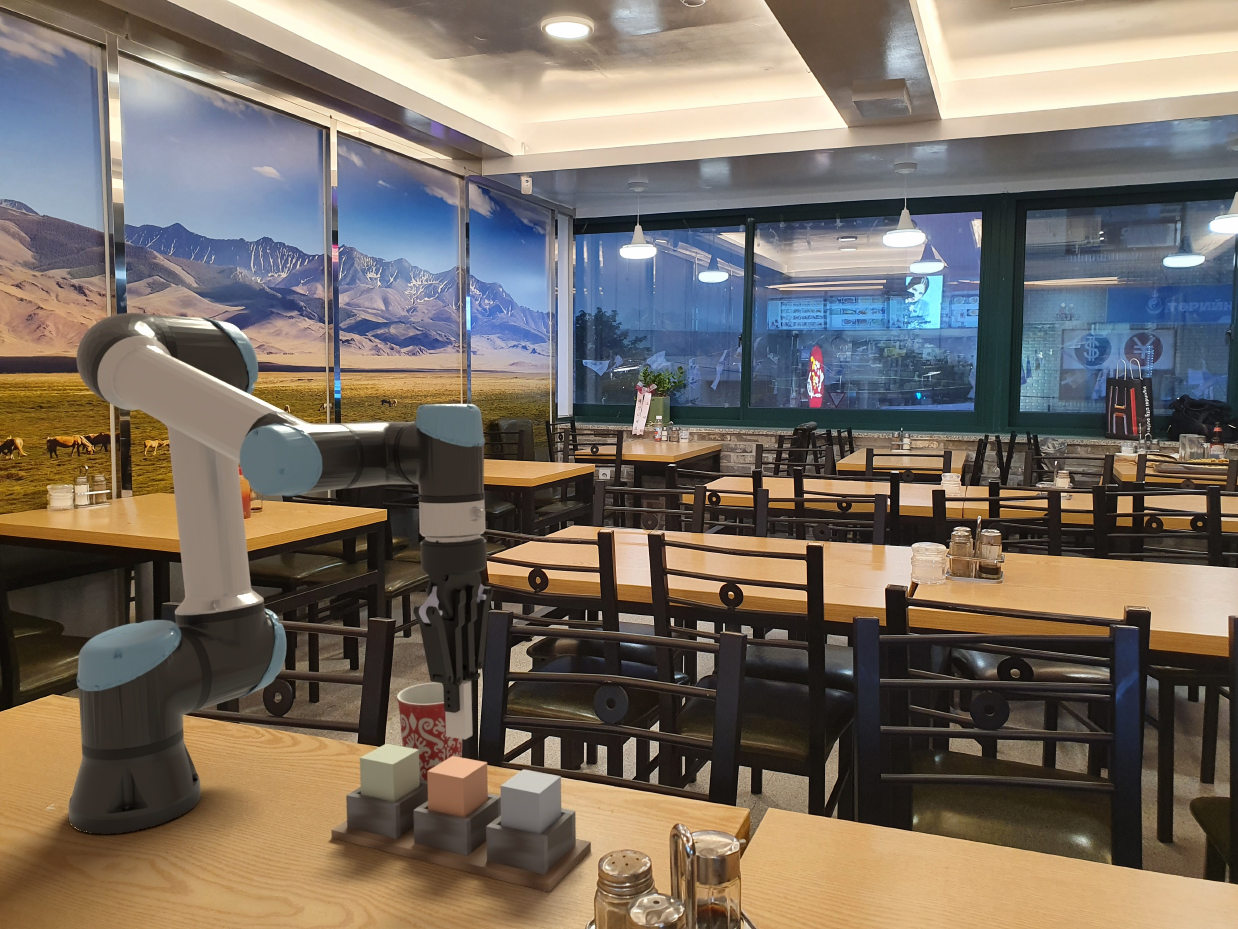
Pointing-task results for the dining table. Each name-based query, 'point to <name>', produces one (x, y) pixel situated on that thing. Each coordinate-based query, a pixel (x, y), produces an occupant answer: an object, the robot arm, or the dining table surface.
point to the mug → (426, 726)
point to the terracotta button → (457, 786)
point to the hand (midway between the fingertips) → (459, 735)
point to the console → (464, 838)
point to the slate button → (531, 801)
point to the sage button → (389, 772)
